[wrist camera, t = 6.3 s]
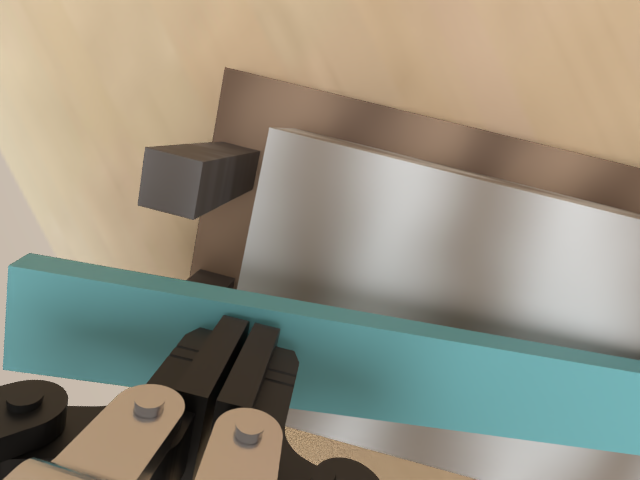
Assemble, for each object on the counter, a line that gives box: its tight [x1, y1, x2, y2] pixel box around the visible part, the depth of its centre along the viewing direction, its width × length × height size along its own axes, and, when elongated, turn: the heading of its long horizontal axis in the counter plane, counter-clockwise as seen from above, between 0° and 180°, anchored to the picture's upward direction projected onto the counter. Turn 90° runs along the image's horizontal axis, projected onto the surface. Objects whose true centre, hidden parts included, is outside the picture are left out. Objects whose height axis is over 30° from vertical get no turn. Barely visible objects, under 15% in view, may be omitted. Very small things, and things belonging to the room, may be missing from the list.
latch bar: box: [3, 253, 640, 455], centre depth 14 cm, size 26×3×2 cm, turn 77°
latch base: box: [138, 67, 640, 480], centre depth 20 cm, size 26×16×10 cm, turn 76°
